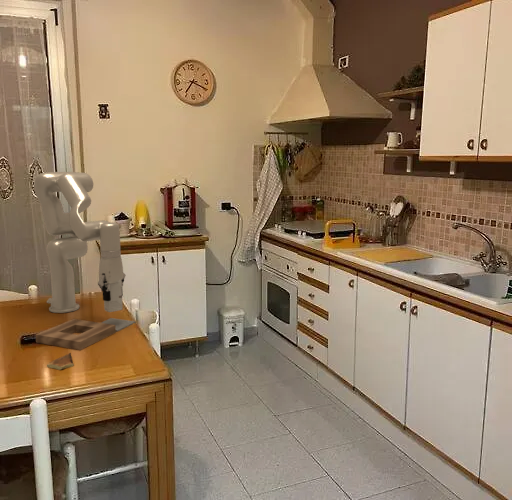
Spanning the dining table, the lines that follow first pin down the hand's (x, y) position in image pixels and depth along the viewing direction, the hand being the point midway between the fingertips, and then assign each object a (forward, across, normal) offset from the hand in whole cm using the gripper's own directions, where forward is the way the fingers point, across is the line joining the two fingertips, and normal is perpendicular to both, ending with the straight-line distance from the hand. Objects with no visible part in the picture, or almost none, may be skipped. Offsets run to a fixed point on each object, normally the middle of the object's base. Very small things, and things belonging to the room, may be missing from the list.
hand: (113, 297), depth 207 cm
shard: (+12, +39, +8) cm, 42 cm away
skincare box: (+5, 0, 0) cm, 5 cm away
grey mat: (+11, 0, 0) cm, 11 cm away
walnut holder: (+11, +17, -4) cm, 21 cm away
